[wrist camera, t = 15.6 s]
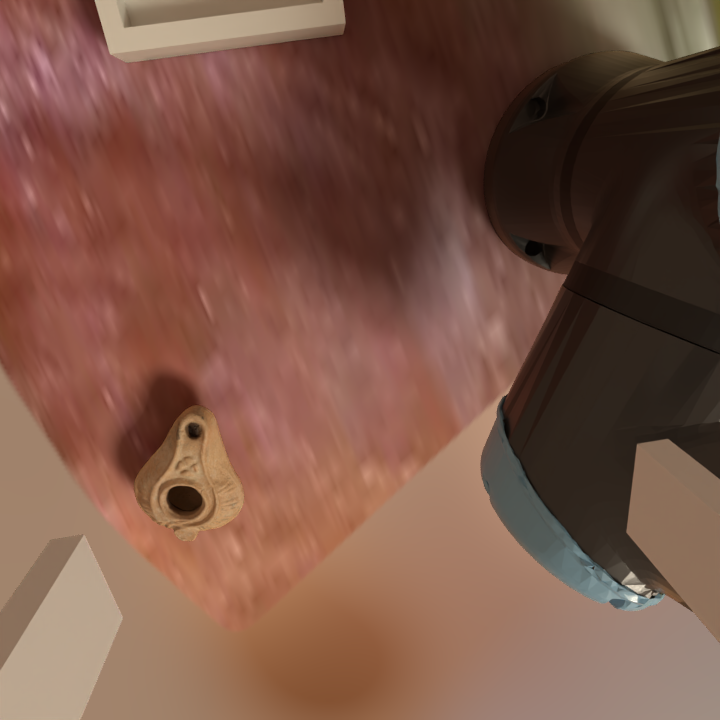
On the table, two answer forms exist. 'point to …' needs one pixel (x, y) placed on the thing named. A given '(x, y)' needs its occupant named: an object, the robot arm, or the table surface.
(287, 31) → the tray
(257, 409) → the table surface
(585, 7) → the table surface
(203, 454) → the pottery oil lamp
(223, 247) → the table surface
